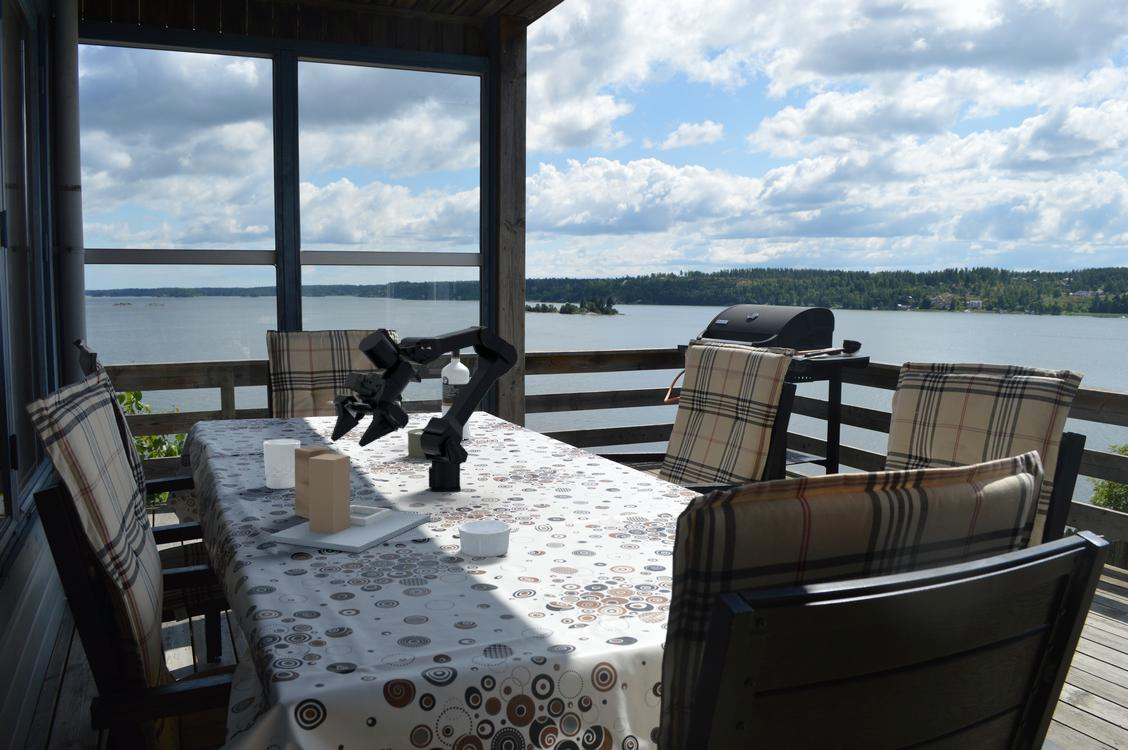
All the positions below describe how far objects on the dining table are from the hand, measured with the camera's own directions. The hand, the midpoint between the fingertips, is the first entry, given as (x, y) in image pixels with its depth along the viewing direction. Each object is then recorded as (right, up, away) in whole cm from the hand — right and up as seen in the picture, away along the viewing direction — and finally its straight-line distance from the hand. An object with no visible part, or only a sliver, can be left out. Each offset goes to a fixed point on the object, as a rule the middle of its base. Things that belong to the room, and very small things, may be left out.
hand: (346, 442), depth 175 cm
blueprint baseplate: (+5, -15, -16) cm, 22 cm away
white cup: (-19, -12, +21) cm, 31 cm away
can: (+7, -9, +62) cm, 63 cm away
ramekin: (+30, -16, -27) cm, 44 cm away
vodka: (+10, -6, +93) cm, 93 cm away
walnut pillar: (-5, -14, -5) cm, 15 cm away
